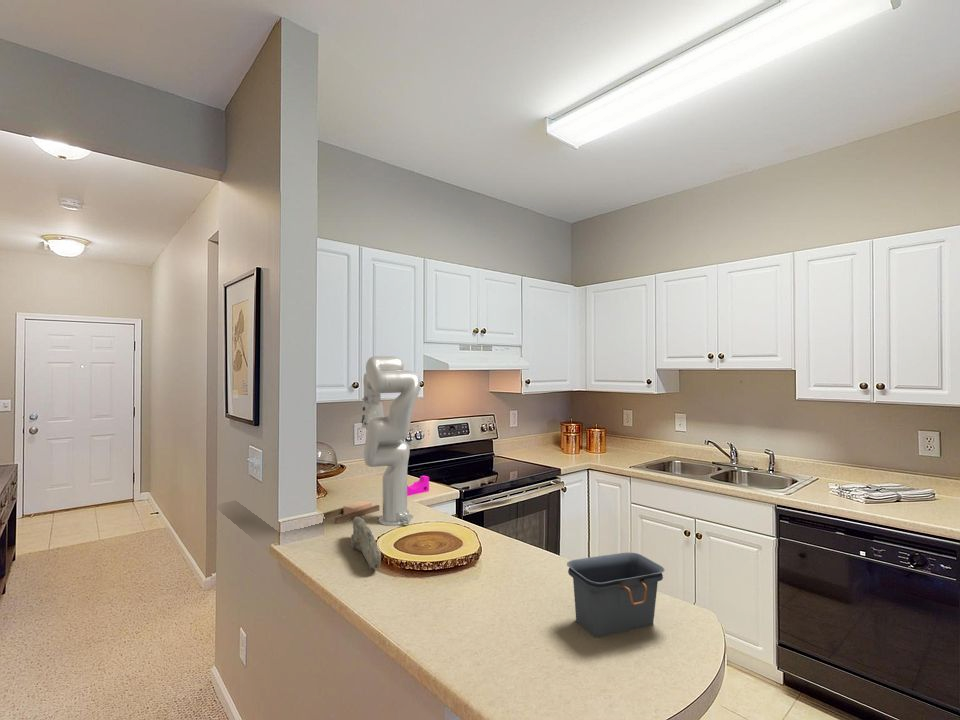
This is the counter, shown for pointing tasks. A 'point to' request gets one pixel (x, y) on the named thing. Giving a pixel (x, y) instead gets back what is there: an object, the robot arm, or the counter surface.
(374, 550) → the elongated rock
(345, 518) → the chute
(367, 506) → the block
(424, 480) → the toy block
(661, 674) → the counter surface
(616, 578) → the storage bin
